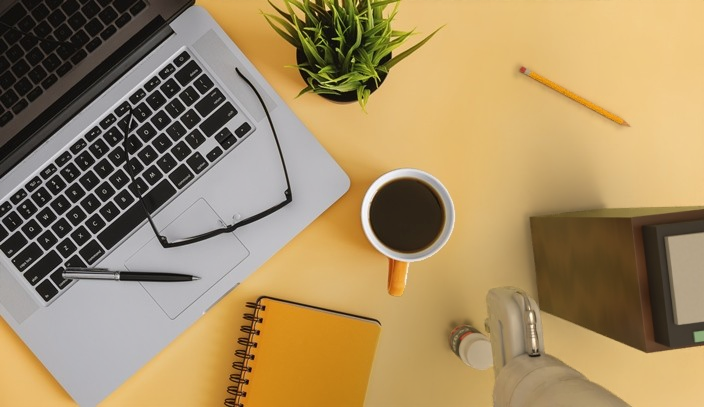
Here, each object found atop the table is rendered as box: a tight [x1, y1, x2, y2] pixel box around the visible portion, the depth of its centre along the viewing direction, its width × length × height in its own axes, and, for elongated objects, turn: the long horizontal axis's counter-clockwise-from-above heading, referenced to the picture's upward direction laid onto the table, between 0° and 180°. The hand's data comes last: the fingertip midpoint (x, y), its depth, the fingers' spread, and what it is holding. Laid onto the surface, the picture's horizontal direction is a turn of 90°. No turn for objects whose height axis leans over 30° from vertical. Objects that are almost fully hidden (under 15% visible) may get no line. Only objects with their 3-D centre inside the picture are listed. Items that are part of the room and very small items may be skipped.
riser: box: [529, 205, 704, 354], centre depth 70 cm, size 14×12×26 cm
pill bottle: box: [448, 324, 493, 371], centre depth 77 cm, size 5×5×8 cm
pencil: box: [519, 66, 632, 128], centre depth 83 cm, size 1×19×1 cm, turn 63°
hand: (494, 361), depth 68 cm, fingers open, 8 cm apart
